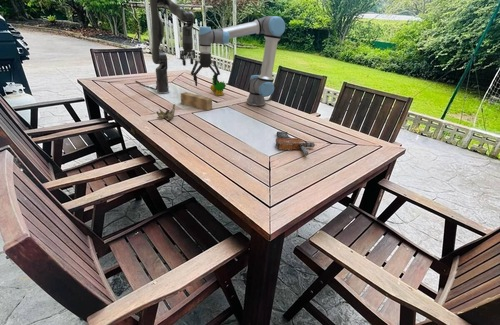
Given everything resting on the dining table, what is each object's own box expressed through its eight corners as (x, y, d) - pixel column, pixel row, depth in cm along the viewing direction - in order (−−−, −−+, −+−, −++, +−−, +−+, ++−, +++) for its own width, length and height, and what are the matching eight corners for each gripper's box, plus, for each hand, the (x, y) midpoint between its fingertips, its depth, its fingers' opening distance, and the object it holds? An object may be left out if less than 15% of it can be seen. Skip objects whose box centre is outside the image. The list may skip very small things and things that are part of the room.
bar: (181, 103, 206) (180, 93, 202) (186, 102, 210) (185, 92, 206) (207, 110, 195) (207, 100, 191) (212, 108, 199) (212, 98, 195)
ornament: (225, 100, 236) (233, 86, 230) (219, 99, 230) (226, 84, 223) (213, 88, 246) (220, 74, 239) (206, 87, 239) (213, 72, 232)
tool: (272, 130, 160) (281, 150, 133) (314, 131, 162) (332, 151, 136) (271, 136, 161) (280, 157, 135) (313, 137, 164) (330, 158, 138)
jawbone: (182, 108, 180) (175, 98, 171) (172, 126, 173) (165, 116, 165) (170, 106, 182) (164, 96, 174) (161, 124, 176) (153, 114, 168)
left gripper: (190, 40, 200) (190, 63, 208) (176, 41, 189) (177, 65, 197) (197, 42, 197) (197, 64, 205) (184, 43, 186) (185, 66, 194)
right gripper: (187, 53, 165) (189, 87, 175) (225, 54, 175) (224, 86, 185) (185, 51, 171) (186, 84, 181) (221, 52, 181) (221, 83, 191)
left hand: (188, 64), depth 201 cm, fingers open, 8 cm apart
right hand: (205, 85), depth 183 cm, fingers open, 13 cm apart
